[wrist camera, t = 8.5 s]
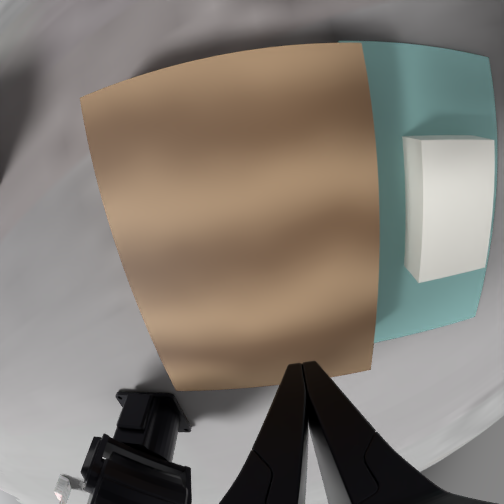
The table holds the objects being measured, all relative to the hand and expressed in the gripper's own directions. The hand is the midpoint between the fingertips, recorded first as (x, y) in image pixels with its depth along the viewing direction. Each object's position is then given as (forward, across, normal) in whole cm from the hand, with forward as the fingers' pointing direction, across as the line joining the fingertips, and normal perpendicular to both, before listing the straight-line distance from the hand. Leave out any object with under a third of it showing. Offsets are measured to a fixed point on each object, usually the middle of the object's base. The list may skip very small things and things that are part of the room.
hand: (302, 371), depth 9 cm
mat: (+12, -11, -1) cm, 16 cm away
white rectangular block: (+9, -12, -1) cm, 15 cm away
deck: (+12, +2, 0) cm, 12 cm away
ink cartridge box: (+13, +54, +54) cm, 78 cm away
